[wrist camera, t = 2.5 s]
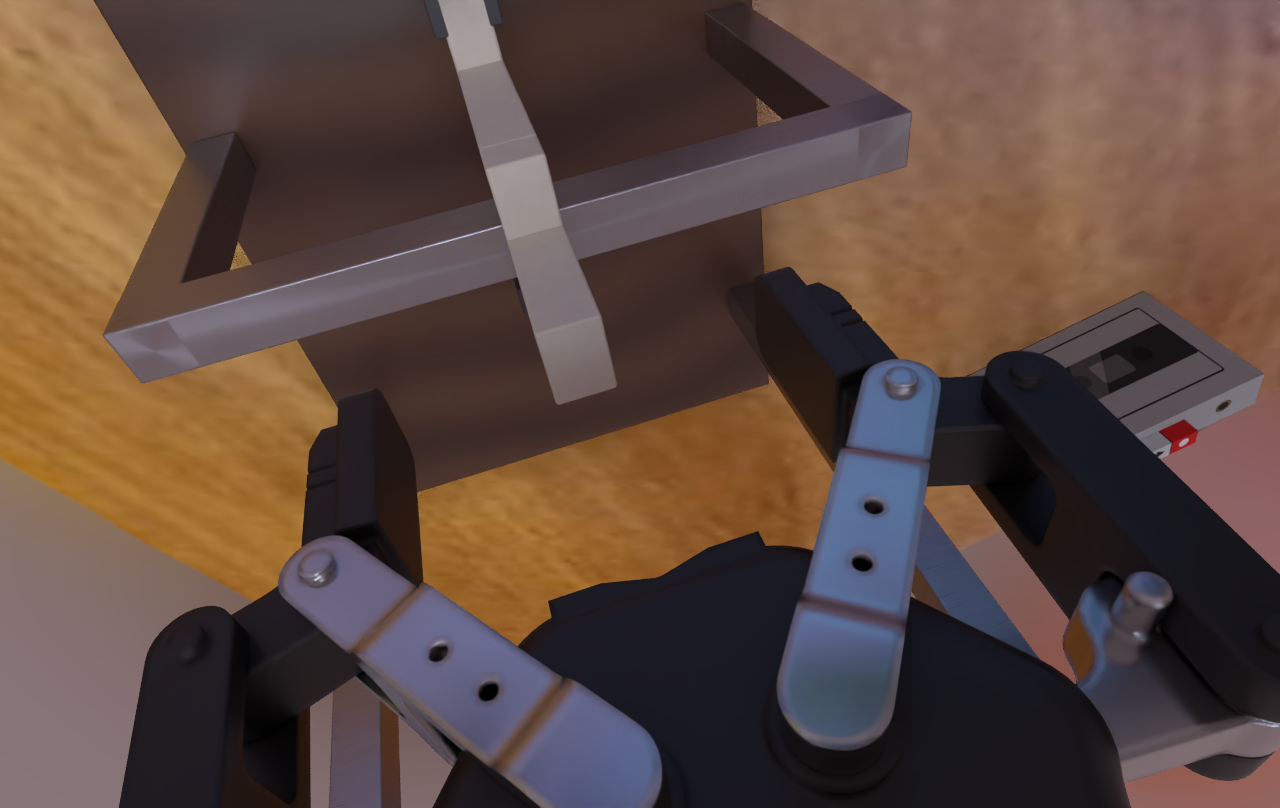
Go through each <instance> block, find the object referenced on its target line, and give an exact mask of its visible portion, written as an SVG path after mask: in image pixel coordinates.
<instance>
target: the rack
mask: <svg viewBox="0 0 1280 808" xmlns="http://www.w3.org/2000/svg"><path fill="white" fill-rule="evenodd" d="M94 2H95V4H96V5H97V7H98V9H99V10H100V12H101V14H102V15H103V17H104V19H105V20H106V22H107V24H108V25H109V27H110V29H111V30H112V32H113V34H114V35H115V37H116V39H117V40H118V42H119V44H120V45H121V47H122V49H123V50H124V52H125V54H126V55H127V57H128V59H129V60H130V62H131V64H132V65H133V67H134V69H135V70H136V72H137V74H138V75H139V77H140V79H141V80H142V82H143V84H144V85H145V87H146V89H147V90H148V92H149V94H150V95H151V97H152V99H153V100H154V102H155V104H156V105H157V107H158V109H159V110H160V112H161V114H162V115H163V117H164V119H165V120H166V122H167V124H168V125H169V127H170V129H171V130H172V132H173V134H174V135H175V137H176V139H177V140H178V142H179V144H180V145H181V147H182V149H183V150H184V152H185V154H186V157H185V159H184V161H183V164H182V166H181V168H180V170H179V172H178V174H177V177H176V179H175V181H174V183H173V185H172V187H171V190H170V192H169V194H168V196H167V198H166V201H165V203H164V205H163V207H162V209H161V211H160V214H159V216H158V218H157V220H156V222H155V224H154V227H153V229H152V231H151V233H150V235H149V237H148V240H147V242H146V244H145V246H144V248H143V250H142V253H141V255H140V257H139V259H138V261H137V263H136V266H135V268H134V270H133V272H132V274H131V276H130V279H129V281H128V283H127V285H126V287H125V290H124V292H123V294H122V296H121V298H120V300H119V301H118V303H117V305H116V307H115V309H114V312H113V314H112V316H111V318H110V320H109V322H108V325H107V327H106V329H105V331H104V333H103V337H104V338H105V339H106V340H107V342H108V343H109V344H110V345H111V346H112V348H113V349H114V350H115V351H116V352H117V354H118V355H119V356H120V357H121V359H122V360H123V361H124V362H125V363H126V365H127V366H128V367H129V368H130V369H131V371H132V372H133V373H134V374H135V375H136V377H137V378H138V379H139V380H140V382H141V383H146V382H150V381H154V380H157V379H161V378H164V377H168V376H171V375H175V374H178V373H182V372H185V371H189V370H192V369H196V368H199V367H203V366H206V365H210V364H213V363H217V362H220V361H224V360H227V359H231V358H235V357H238V356H242V355H245V354H249V353H252V352H256V351H259V350H263V349H266V348H270V347H273V346H277V345H280V344H284V343H287V342H291V341H294V340H298V342H299V344H300V345H301V347H302V349H303V350H304V352H305V354H306V355H307V357H308V359H309V360H310V362H311V364H312V365H313V367H314V369H315V370H316V372H317V374H318V375H319V377H320V379H321V380H322V382H323V384H324V385H325V387H326V389H327V390H328V392H329V394H330V395H331V397H332V399H333V400H334V402H335V404H336V405H337V407H338V403H339V399H340V398H342V397H346V396H349V395H353V394H356V393H359V392H363V391H366V390H369V389H373V388H378V389H379V390H380V391H381V392H382V394H383V396H384V398H385V400H386V401H387V403H388V405H389V407H390V409H391V411H392V413H393V415H394V417H395V418H396V420H397V422H398V424H399V426H400V428H401V430H402V432H403V433H404V435H405V437H406V439H407V441H408V444H409V446H410V449H411V452H412V455H413V459H414V463H415V471H416V485H417V492H419V491H423V490H426V489H429V488H432V487H436V486H439V485H442V484H445V483H449V482H452V481H455V480H458V479H462V478H465V477H468V476H471V475H474V474H478V473H481V472H484V471H487V470H491V469H494V468H497V467H500V466H504V465H507V464H510V463H513V462H517V461H520V460H523V459H526V458H530V457H533V456H536V455H539V454H542V453H546V452H549V451H552V450H555V449H559V448H562V447H565V446H568V445H572V444H575V443H578V442H581V441H585V440H588V439H591V438H594V437H598V436H601V435H604V434H607V433H610V432H614V431H617V430H620V429H623V428H627V427H630V426H633V425H636V424H640V423H643V422H646V421H649V420H653V419H656V418H659V417H662V416H666V415H669V414H672V413H675V412H679V411H682V410H685V409H688V408H691V407H695V406H698V405H701V404H704V403H708V402H711V401H714V400H717V399H721V398H724V397H727V396H730V395H734V394H737V393H740V392H743V391H747V390H750V389H753V388H756V387H759V386H763V385H766V384H768V383H769V380H768V373H769V374H770V376H771V377H772V379H773V380H774V382H775V383H776V385H777V386H778V388H779V390H780V391H781V393H782V394H783V396H784V397H785V399H786V400H787V402H788V403H789V405H790V406H791V408H792V409H793V411H794V412H795V414H796V416H797V417H798V419H799V420H800V422H801V423H802V425H803V426H804V428H805V429H806V431H807V432H808V434H809V435H810V437H811V438H812V440H813V441H814V443H815V445H816V446H817V448H818V449H819V451H820V452H821V454H822V455H823V457H824V458H825V460H826V461H827V463H828V464H829V466H830V467H831V469H832V471H833V472H834V470H835V467H836V463H837V462H834V463H833V462H832V461H831V459H830V458H829V457H828V455H827V454H826V452H825V451H824V449H823V448H822V446H821V445H820V443H819V442H818V440H817V439H816V437H815V436H814V434H813V433H812V431H811V430H810V428H809V427H808V425H807V424H806V422H805V421H804V419H803V418H802V416H801V415H800V413H799V412H798V410H797V409H796V407H795V406H794V404H793V403H792V401H791V400H790V398H789V397H788V395H787V394H786V392H785V391H784V389H783V388H782V386H781V385H780V383H779V382H778V380H777V379H776V377H775V376H774V374H773V373H772V372H771V370H770V369H769V367H768V366H767V364H766V363H765V361H764V359H763V357H762V355H761V352H760V349H759V346H758V342H757V337H756V324H755V307H754V290H753V282H754V278H755V277H756V276H758V275H762V274H764V265H763V243H762V220H761V208H763V207H766V206H770V205H773V204H777V203H781V202H784V201H788V200H791V199H795V198H798V197H802V196H805V195H809V194H812V193H816V192H819V191H823V190H826V189H830V188H833V187H837V186H840V185H844V184H847V183H851V182H855V181H858V180H862V179H865V178H869V177H872V176H876V175H879V174H883V173H886V172H890V171H893V170H897V169H900V168H904V167H906V166H907V157H908V147H909V137H910V127H911V117H912V112H911V111H910V110H908V109H907V108H905V107H904V106H902V105H901V104H899V103H898V102H896V101H894V100H893V99H891V98H890V97H888V96H887V95H885V94H884V93H882V92H881V91H879V90H877V89H876V88H874V87H873V86H871V85H870V84H868V83H867V82H865V81H863V80H862V79H860V78H859V77H857V76H856V75H854V74H853V73H851V72H850V71H848V70H846V69H845V68H843V67H842V66H840V65H839V64H837V63H836V62H834V61H832V60H831V59H829V58H828V57H826V56H825V55H823V54H822V53H820V52H819V51H817V50H815V49H814V48H812V47H811V46H809V45H808V44H806V43H805V42H803V41H801V40H800V39H798V38H797V37H795V36H794V35H792V34H791V33H789V32H788V31H786V30H784V29H783V28H781V27H780V26H778V25H777V24H775V23H774V22H772V21H770V20H769V19H767V18H766V17H764V16H763V15H761V14H760V13H758V12H757V11H755V10H753V9H752V0H498V2H499V6H500V10H501V14H502V18H503V24H500V25H496V26H494V29H495V32H496V36H497V40H498V44H499V47H500V51H501V55H502V59H503V62H504V64H505V66H506V68H507V71H508V73H509V75H510V77H511V80H512V82H513V84H514V86H515V88H516V91H517V93H518V95H519V97H520V100H521V102H522V104H523V106H524V108H525V111H526V113H527V115H528V117H529V120H530V122H531V124H532V126H533V128H534V131H535V133H536V135H537V138H538V140H539V142H540V144H541V146H542V149H543V151H544V153H545V155H546V159H547V163H548V167H549V171H550V175H551V179H552V183H553V187H554V191H555V195H556V199H557V203H558V207H559V211H560V215H561V219H562V223H563V227H564V229H565V231H566V233H567V236H568V238H569V240H570V243H571V245H572V248H573V250H574V252H575V255H576V257H577V259H578V262H579V264H580V267H581V269H582V271H583V274H584V276H585V278H586V281H587V283H588V286H589V288H590V290H591V293H592V295H593V298H594V300H595V302H596V305H597V307H598V309H599V312H600V314H601V317H602V321H603V326H604V330H605V334H606V338H607V343H608V347H609V351H610V356H611V360H612V364H613V368H614V373H615V377H616V381H617V387H616V388H613V389H609V390H606V391H603V392H600V393H596V394H593V395H590V396H586V397H583V398H580V399H576V400H573V401H570V402H567V403H563V404H560V405H558V404H557V403H556V402H555V399H554V396H553V392H552V389H551V386H550V383H549V380H548V377H547V374H546V370H545V367H544V364H543V361H542V358H541V355H540V351H539V348H538V345H537V342H536V339H535V336H534V332H533V329H532V325H531V322H530V318H529V315H525V314H524V313H523V310H522V307H521V304H520V300H519V297H518V294H517V291H516V288H515V284H514V280H513V278H516V277H517V274H516V270H515V267H514V263H513V260H512V256H511V253H510V249H509V246H508V242H507V239H506V236H505V233H504V230H503V226H502V223H501V220H500V217H499V214H498V211H497V207H496V204H495V201H494V198H493V195H492V191H491V188H490V185H489V182H488V179H487V176H486V172H485V169H484V165H483V162H482V158H481V155H480V151H479V148H478V144H477V141H476V137H475V134H474V130H473V127H472V123H471V120H470V116H469V113H468V109H467V106H466V102H465V99H464V95H463V92H462V88H461V85H460V81H459V78H458V74H457V71H456V68H455V65H454V61H453V58H452V55H451V52H450V49H449V45H448V42H447V39H446V38H444V39H440V40H436V39H435V36H434V33H433V30H432V27H431V24H430V21H429V18H428V14H427V11H426V8H425V5H424V2H423V0H94ZM756 96H757V97H758V98H759V99H760V100H761V101H763V102H764V103H765V104H766V105H767V106H768V107H770V108H771V109H772V110H773V111H774V112H775V113H776V114H778V115H779V116H780V117H781V118H782V119H783V120H780V121H777V122H773V123H769V124H766V125H762V126H758V127H757V106H756ZM237 242H239V244H240V245H241V247H242V249H243V250H244V252H245V254H246V255H247V257H248V259H249V260H250V262H251V264H252V265H248V266H244V267H241V268H237V269H233V270H230V268H231V264H232V260H233V257H234V253H235V249H236V246H237ZM911 591H912V593H913V594H914V596H915V597H916V599H917V600H919V601H921V602H923V603H925V604H927V605H929V606H931V607H933V608H936V609H938V610H940V611H942V612H944V613H946V614H948V615H950V616H952V617H954V618H956V619H958V620H960V621H962V622H964V623H966V624H968V625H970V626H972V627H974V628H976V629H979V630H981V631H983V632H985V633H987V634H989V635H991V636H993V637H995V638H997V639H999V640H1001V641H1003V642H1005V643H1007V644H1009V645H1011V646H1013V647H1015V648H1017V649H1019V650H1022V651H1024V652H1026V653H1028V654H1030V655H1032V656H1034V657H1036V658H1038V656H1037V655H1036V654H1035V653H1034V651H1033V650H1032V648H1031V647H1030V646H1029V644H1028V643H1027V642H1026V640H1025V639H1024V638H1023V636H1022V635H1021V634H1020V632H1019V631H1018V629H1017V628H1016V627H1015V625H1014V624H1013V623H1012V621H1011V620H1010V619H1009V618H1008V616H1007V615H1006V613H1005V612H1004V611H1003V610H1002V608H1001V607H1000V605H999V604H998V603H997V601H996V600H995V599H994V597H993V596H992V595H991V594H990V592H989V591H988V589H987V588H986V587H985V586H984V584H983V583H982V581H981V580H980V579H979V577H978V576H977V575H976V573H975V572H974V571H973V569H972V568H971V567H970V566H969V564H968V563H967V561H966V560H965V559H964V557H963V556H962V555H961V553H960V552H959V551H958V549H957V548H956V547H955V545H954V544H953V543H952V541H951V540H950V539H949V537H948V536H947V534H946V533H945V532H944V530H943V529H942V528H941V526H940V525H939V524H938V522H937V521H936V520H935V518H934V517H933V516H932V514H931V513H930V512H929V510H928V509H927V508H926V506H925V505H924V508H923V515H922V522H921V529H920V535H919V542H918V549H917V556H916V562H915V569H914V576H913V582H912V589H911ZM1038 659H1039V658H1038ZM399 761H400V760H399V728H398V715H396V714H395V713H394V712H393V711H392V710H391V709H389V708H388V707H387V706H386V705H385V704H384V703H383V702H381V701H380V700H379V699H378V698H377V697H376V696H375V695H373V694H372V693H371V692H370V691H369V690H368V689H367V688H365V687H364V686H363V685H362V684H361V683H360V682H359V681H357V680H356V679H355V678H352V679H351V680H349V681H348V682H346V683H345V684H343V685H342V686H340V687H339V688H337V689H336V690H334V691H333V713H332V742H331V767H330V793H329V808H401V792H400V762H399Z"/></svg>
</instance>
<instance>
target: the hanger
mask: <svg viewBox="0 0 1280 808" xmlns="http://www.w3.org/2000/svg"><path fill="white" fill-rule="evenodd" d="M423 2H424V5H425V8H426V11H427V14H428V18H429V21H430V24H431V27H432V30H433V33H434V36H435V39H436V40H440V39H444V38H446V39H447V42H448V45H449V49H450V52H451V55H452V58H453V61H454V65H455V68H456V71H457V74H458V78H459V81H460V85H461V88H462V92H463V95H464V99H465V102H466V106H467V109H468V113H469V116H470V120H471V123H472V127H473V130H474V134H475V137H476V141H477V144H478V148H479V151H480V155H481V158H482V162H483V165H484V169H485V172H486V176H487V179H488V182H489V185H490V188H491V191H492V195H493V198H494V201H495V204H496V207H497V211H498V214H499V217H500V220H501V223H502V226H503V230H504V233H505V236H506V239H507V242H508V246H509V249H510V253H511V256H512V260H513V263H514V267H515V270H516V274H517V277H516V278H513V280H514V284H515V288H516V291H517V294H518V297H519V300H520V304H521V307H522V310H523V313H524V314H525V315H529V318H530V322H531V325H532V329H533V332H534V336H535V339H536V342H537V345H538V348H539V351H540V355H541V358H542V361H543V364H544V367H545V370H546V374H547V377H548V380H549V383H550V386H551V389H552V392H553V396H554V399H555V402H556V403H557V404H558V405H560V404H563V403H567V402H570V401H573V400H576V399H580V398H583V397H586V396H590V395H593V394H596V393H600V392H603V391H606V390H609V389H613V388H616V387H617V381H616V377H615V373H614V368H613V364H612V360H611V356H610V351H609V347H608V343H607V338H606V334H605V330H604V326H603V321H602V317H601V314H600V312H599V309H598V307H597V305H596V302H595V300H594V298H593V295H592V293H591V290H590V288H589V286H588V283H587V281H586V278H585V276H584V274H583V271H582V269H581V267H580V264H579V262H578V259H577V257H576V255H575V252H574V250H573V248H572V245H571V243H570V240H569V238H568V236H567V233H566V231H565V229H564V227H563V223H562V219H561V215H560V211H559V207H558V203H557V199H556V195H555V191H554V187H553V183H552V179H551V175H550V171H549V167H548V163H547V159H546V155H545V153H544V151H543V149H542V146H541V144H540V142H539V140H538V138H537V135H536V133H535V131H534V128H533V126H532V124H531V122H530V120H529V117H528V115H527V113H526V111H525V108H524V106H523V104H522V102H521V100H520V97H519V95H518V93H517V91H516V88H515V86H514V84H513V82H512V80H511V77H510V75H509V73H508V71H507V68H506V66H505V64H504V62H503V59H502V55H501V51H500V47H499V44H498V40H497V36H496V32H495V29H494V26H496V25H500V24H503V18H502V14H501V10H500V6H499V2H498V0H423Z"/></svg>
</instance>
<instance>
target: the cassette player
mask: <svg viewBox="0 0 1280 808" xmlns="http://www.w3.org/2000/svg"><path fill="white" fill-rule="evenodd" d="M1021 351H1029V352H1035V353H1040V354H1043V355H1046V356H1048V357H1050V358H1052V359H1054V360H1056V361H1057V362H1059V363H1060V364H1061V365H1062V366H1064V367H1065V368H1066V369H1067V370H1068V371H1069V372H1070V373H1071V374H1072V375H1073V376H1074V377H1075V378H1076V379H1077V380H1078V381H1079V382H1080V383H1081V384H1082V385H1083V386H1084V387H1085V388H1086V389H1087V390H1088V391H1090V392H1091V393H1092V394H1093V395H1094V396H1095V397H1096V398H1097V399H1098V400H1099V401H1100V402H1101V403H1102V404H1103V405H1104V406H1105V407H1106V408H1107V409H1108V410H1109V411H1110V412H1111V413H1112V414H1113V415H1114V416H1116V417H1117V418H1118V419H1119V420H1120V421H1121V422H1122V423H1123V424H1124V425H1125V426H1126V427H1127V428H1128V429H1129V430H1130V431H1131V432H1132V433H1133V434H1134V435H1135V436H1136V437H1137V438H1138V439H1139V440H1140V441H1141V442H1143V443H1144V444H1145V445H1146V446H1147V447H1148V448H1149V449H1150V450H1151V451H1152V452H1153V453H1154V454H1155V455H1156V456H1157V457H1158V458H1159V459H1161V458H1163V457H1165V456H1167V455H1169V454H1171V453H1174V452H1176V451H1178V450H1180V449H1182V448H1184V447H1186V446H1188V445H1191V444H1193V443H1195V440H1196V437H1197V433H1198V430H1200V429H1202V428H1204V427H1206V426H1208V425H1211V424H1213V423H1215V422H1217V421H1219V420H1221V419H1223V418H1226V417H1228V416H1230V415H1232V414H1234V413H1236V412H1238V411H1240V410H1243V409H1245V408H1247V407H1249V406H1251V405H1253V404H1255V401H1256V398H1257V395H1258V392H1259V389H1260V386H1261V383H1262V380H1263V377H1264V373H1263V372H1261V371H1260V370H1258V369H1257V368H1255V367H1254V366H1252V365H1251V364H1250V363H1248V362H1247V361H1245V360H1244V359H1242V358H1241V357H1239V356H1238V355H1236V354H1235V353H1233V352H1232V351H1231V350H1229V349H1228V348H1226V347H1225V346H1223V345H1222V344H1220V343H1219V342H1217V341H1216V340H1214V339H1213V338H1212V337H1210V336H1209V335H1207V334H1206V333H1204V332H1203V331H1201V330H1200V329H1198V328H1197V327H1195V326H1194V325H1192V324H1191V323H1190V322H1188V321H1187V320H1185V319H1184V318H1182V317H1181V316H1179V315H1178V314H1176V313H1175V312H1173V311H1172V310H1171V309H1169V308H1168V307H1166V306H1165V305H1163V304H1162V303H1160V302H1159V301H1157V300H1156V299H1154V298H1153V297H1152V296H1150V295H1149V294H1147V293H1146V292H1144V291H1143V292H1141V293H1139V294H1137V295H1135V296H1133V297H1131V298H1129V299H1127V300H1124V301H1122V302H1120V303H1118V304H1116V305H1114V306H1112V307H1110V308H1108V309H1106V310H1104V311H1102V312H1100V313H1097V314H1095V315H1093V316H1091V317H1089V318H1087V319H1085V320H1083V321H1081V322H1079V323H1077V324H1075V325H1073V326H1070V327H1068V328H1066V329H1064V330H1062V331H1060V332H1058V333H1056V334H1054V335H1052V336H1050V337H1048V338H1046V339H1043V340H1041V341H1039V342H1037V343H1035V344H1033V345H1031V346H1029V347H1027V348H1025V349H1023V350H1021ZM985 370H986V367H985V368H983V369H981V370H979V371H977V372H975V373H973V374H971V375H969V376H984V375H985ZM969 376H967V377H969Z"/></svg>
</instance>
